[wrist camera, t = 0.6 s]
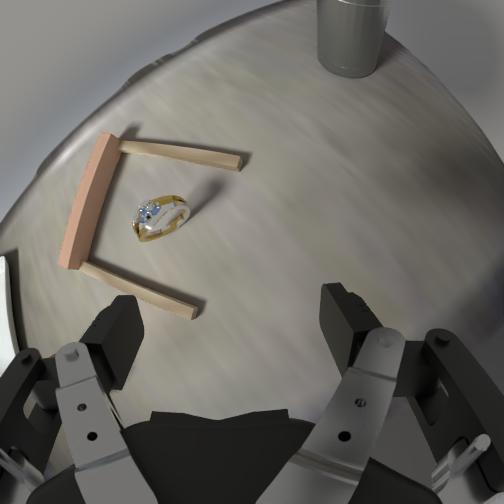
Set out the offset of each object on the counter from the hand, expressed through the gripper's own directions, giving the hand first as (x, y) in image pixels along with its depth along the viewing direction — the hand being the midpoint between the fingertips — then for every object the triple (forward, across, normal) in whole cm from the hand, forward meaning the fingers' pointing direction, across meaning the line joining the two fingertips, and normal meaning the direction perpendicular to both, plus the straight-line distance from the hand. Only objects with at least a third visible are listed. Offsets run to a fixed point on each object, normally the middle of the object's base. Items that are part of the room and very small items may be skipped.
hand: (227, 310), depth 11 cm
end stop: (+29, +21, -1) cm, 36 cm away
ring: (+24, +8, +2) cm, 26 cm away
